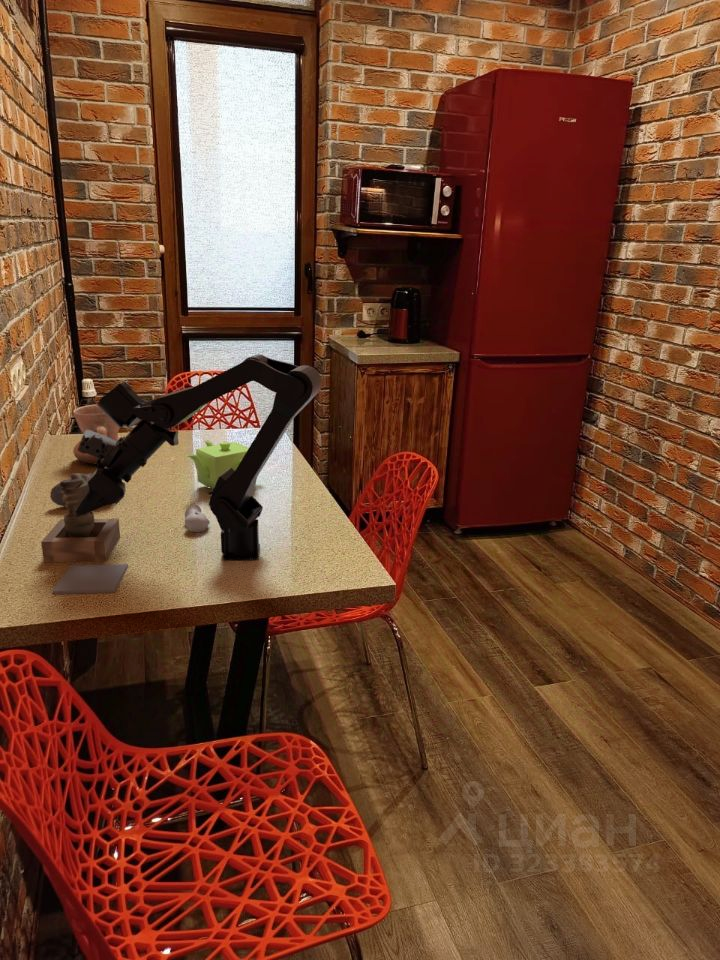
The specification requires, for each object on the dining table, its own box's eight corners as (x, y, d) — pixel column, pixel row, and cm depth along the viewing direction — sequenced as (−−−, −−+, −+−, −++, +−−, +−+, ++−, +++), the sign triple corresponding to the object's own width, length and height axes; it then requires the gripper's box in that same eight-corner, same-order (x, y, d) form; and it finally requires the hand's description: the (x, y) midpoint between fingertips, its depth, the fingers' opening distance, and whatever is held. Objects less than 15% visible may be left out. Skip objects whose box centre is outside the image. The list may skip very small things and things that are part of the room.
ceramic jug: (75, 453, 191) (70, 403, 187) (130, 450, 196) (126, 400, 191) (73, 473, 175) (66, 418, 171) (133, 468, 180) (128, 415, 175)
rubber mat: (128, 566, 125) (127, 564, 125) (114, 592, 116) (114, 589, 116) (70, 567, 124) (70, 564, 124) (52, 593, 115) (52, 591, 115)
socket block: (120, 537, 138) (118, 518, 136) (106, 561, 127) (103, 541, 126) (62, 538, 137) (60, 519, 135) (43, 562, 126) (41, 541, 125)
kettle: (187, 496, 161) (184, 449, 158) (202, 477, 175) (200, 434, 171) (251, 498, 161) (250, 451, 157) (261, 479, 174) (260, 436, 171)
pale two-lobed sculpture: (207, 539, 141) (182, 533, 139) (206, 523, 148) (182, 518, 147) (213, 520, 140) (187, 514, 138) (211, 505, 147) (187, 500, 146)
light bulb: (89, 541, 136) (81, 467, 131) (105, 548, 132) (97, 473, 128) (62, 549, 131) (52, 474, 127) (77, 558, 128) (68, 481, 123)
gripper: (109, 405, 134) (54, 462, 135) (97, 429, 116) (34, 494, 118) (154, 443, 138) (100, 498, 139) (149, 472, 121) (87, 534, 122)
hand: (81, 504), depth 129 cm, fingers open, 9 cm apart
